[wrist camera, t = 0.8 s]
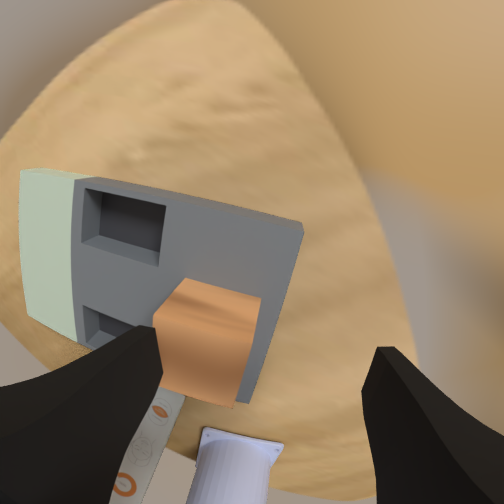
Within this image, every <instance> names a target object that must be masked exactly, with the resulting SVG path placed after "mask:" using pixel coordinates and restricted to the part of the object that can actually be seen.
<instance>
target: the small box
mask: <svg viewBox="0 0 504 504" xmlns="http://www.w3.org/2000/svg"><path fill="white" fill-rule="evenodd" d="M184 400H185V396H184V395H183V394H180V393H177V392H174V391H171V390H168V389H165V388H162V387H158V390H157V392H156V395H155V397H154V399H153V401H152V403H151V405H150V407H149V409H148V411H147V412H146V414H145V416H144V418H143V420H142V422H141V424H140V425H139V427H138V429H137V431H136V433H135V435H134V437H133V438H132V440H131V442H130V444H129V446H128V448H127V451H126V453H125V455H124V458H123V461H122V464H121V466H120V469H119V472H118V475H117V478H116V481H115V484H114V488H113V491H112V494H111V498H110V502H109V504H141V503H142V501H143V498H144V495H145V493H146V491H147V488H148V486H149V484H150V481H151V479H152V476H153V474H154V471H155V469H156V467H157V464H158V462H159V459H160V457H161V455H162V453H163V450H164V448H165V446H166V443H167V441H168V439H169V436H170V434H171V432H172V429H173V427H174V424H175V422H176V420H177V417H178V415H179V412H180V410H181V408H182V405H183V403H184Z"/></svg>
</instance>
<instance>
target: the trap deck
mask: <svg viewBox="0 0 504 504" xmlns="http://www.w3.org/2000/svg"><path fill="white" fill-rule="evenodd" d="M303 235H304V229H303V226H302V223H301V222H297V221H293V220H289V219H286V218H282V217H278V216H274V215H270V214H266V213H262V212H258V211H254V210H250V209H246V208H242V207H238V206H233V205H229V204H225V203H221V202H216V201H212V200H208V199H203V198H199V197H194V196H190V195H185V194H181V193H176V192H172V191H167V190H162V189H157V188H152V187H148V186H143V185H138V184H133V183H127V182H122V181H117V180H112V179H106V178H101V177H95V176H90V175H84V174H78V173H72V172H66V171H60V170H54V169H48V168H34V169H25V170H21V173H20V188H19V244H20V259H21V270H22V279H23V287H24V294H25V301H26V307H27V312H28V315H29V316H30V317H32V318H34V319H35V320H37V321H39V322H40V323H42V324H44V325H46V326H47V327H49V328H51V329H53V330H55V331H56V332H58V333H60V334H62V335H64V336H66V337H68V338H69V339H71V340H73V341H75V342H77V343H79V344H81V345H83V346H85V347H87V348H90V349H92V350H96V349H97V348H99V347H101V346H103V345H104V344H106V343H108V342H110V341H111V340H113V339H115V338H116V337H118V336H120V335H122V334H123V333H125V332H127V331H129V330H130V329H132V328H134V327H136V326H138V325H143V326H148V327H153V315H154V313H155V312H156V311H157V310H158V309H159V308H160V306H161V305H162V304H163V303H164V302H165V300H166V299H167V298H168V297H169V296H170V295H171V294H172V292H173V291H174V290H175V289H176V288H177V287H178V285H179V284H180V283H181V282H182V281H183V280H184V279H185V278H188V279H192V280H195V281H199V282H202V283H206V284H210V285H213V286H217V287H221V288H224V289H228V290H232V291H236V292H239V293H243V294H247V295H251V296H255V297H259V298H261V303H260V308H259V313H258V318H257V323H256V328H255V333H254V338H253V343H252V347H251V350H250V353H249V357H248V360H247V364H246V367H245V370H244V373H243V377H242V380H241V383H240V387H239V390H238V393H237V396H236V399H235V401H238V402H243V403H247V404H249V402H250V400H251V397H252V394H253V391H254V388H255V386H256V383H257V380H258V377H259V374H260V371H261V369H262V366H263V363H264V360H265V357H266V354H267V351H268V348H269V345H270V342H271V339H272V336H273V333H274V330H275V327H276V324H277V321H278V318H279V314H280V311H281V308H282V305H283V302H284V299H285V295H286V292H287V289H288V286H289V282H290V279H291V276H292V272H293V269H294V266H295V262H296V259H297V256H298V252H299V249H300V245H301V242H302V238H303Z"/></svg>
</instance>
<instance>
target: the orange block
mask: <svg viewBox="0 0 504 504" xmlns="http://www.w3.org/2000/svg"><path fill="white" fill-rule="evenodd" d="M260 303H261V298H259V297H255V296H251V295H247V294H243V293H239V292H236V291H232V290H228V289H224V288H221V287H217V286H213V285H210V284H206V283H202V282H199V281H195V280H192V279H188V278H185V279H184V280H183V281H182V282H181V283H180V284H179V285H178V287H177V288H176V289H175V290H174V291H173V292H172V294H171V295H170V296H169V297H168V298H167V299H166V300H165V302H164V303H163V304H162V305H161V306H160V308H159V309H158V310H157V311H156V312H155V313H154V315H153V327H154V328H155V329H156V335H157V341H158V347H159V352H160V357H161V362H162V367H163V372H164V373H163V376H162V379H161V381H160V384H159V387H162V388H165V389H168V390H171V391H174V392H177V393H180V394H183V395H186V396H189V397H192V398H196V399H199V400H202V401H206V402H209V403H213V404H216V405H220V406H224V407H228V408H232V409H233V406H234V403H235V399H236V396H237V393H238V390H239V387H240V383H241V380H242V377H243V373H244V370H245V367H246V364H247V360H248V357H249V353H250V350H251V347H252V343H253V338H254V333H255V328H256V323H257V318H258V313H259V308H260Z"/></svg>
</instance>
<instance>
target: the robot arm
mask: <svg viewBox="0 0 504 504" xmlns="http://www.w3.org/2000/svg"><path fill="white" fill-rule="evenodd" d="M163 373H164V372H163V367H162V362H161V357H160V352H159V347H158V341H157V335H156V329H155V328H154V327H148V326H143V325H138V326H136V327H134V328H132V329H130V330H129V331H127V332H125V333H123V334H122V335H120V336H118V337H116V338H115V339H113V340H111V341H110V342H108V343H106V344H104V345H103V346H101V347H99V348H97V349H96V350H94V351H92V352H90V353H89V354H87V355H85V356H83V357H81V358H79V359H77V360H75V361H73V362H71V363H69V364H67V365H65V366H63V367H61V368H59V369H56V370H54V371H52V372H49V373H47V374H44V375H41V376H39V377H36V378H33V379H30V380H26V381H23V382H19V383H15V384H12V385H8V386H3V387H0V504H109V502H110V498H111V494H112V491H113V488H114V484H115V481H116V478H117V475H118V472H119V469H120V466H121V464H122V461H123V458H124V455H125V453H126V451H127V448H128V446H129V444H130V442H131V440H132V438H133V437H134V435H135V433H136V431H137V429H138V427H139V425H140V424H141V422H142V420H143V418H144V416H145V414H146V412H147V411H148V409H149V407H150V405H151V403H152V401H153V399H154V397H155V395H156V392H157V390H158V387H159V384H160V381H161V379H162V376H163ZM361 393H362V405H363V415H364V420H365V425H366V430H367V434H368V439H369V444H370V449H371V453H372V458H373V463H374V469H375V476H376V491H377V504H504V436H503V435H501V434H499V433H498V432H496V431H494V430H492V429H491V428H489V427H487V426H485V425H484V424H482V423H481V422H480V421H478V420H477V419H475V418H474V417H473V416H471V415H470V414H468V413H467V412H466V411H464V410H463V409H462V408H460V407H459V406H458V405H457V404H456V403H454V402H453V401H452V400H451V399H450V398H449V397H447V396H446V395H445V394H444V393H443V392H442V391H441V390H439V389H438V388H437V387H436V386H435V385H434V384H433V383H432V382H431V381H430V380H429V379H428V378H427V377H425V375H424V374H423V373H421V372H420V371H419V370H418V369H417V368H416V367H415V366H414V365H413V364H412V363H411V362H410V361H409V360H408V359H407V358H406V357H405V356H404V355H403V354H402V353H401V352H400V351H399V350H397V349H396V348H395V347H377V349H376V352H375V355H374V358H373V361H372V363H371V366H370V369H369V372H368V375H367V377H366V380H365V383H364V385H363V388H362V390H361ZM283 448H284V445H283V444H282V443H278V442H272V441H266V440H261V439H256V438H251V437H246V436H242V435H237V434H233V433H229V432H225V431H221V430H217V429H213V428H210V427H205V428H204V429H203V432H202V437H201V442H200V446H199V451H198V456H197V461H196V465H195V466H196V468H197V469H196V473H195V476H194V479H193V482H192V485H191V488H190V492H189V495H188V498H187V501H186V504H266V502H267V493H268V484H269V475H270V468H271V466H272V465H273V463H274V462H275V460H276V459H277V457H278V456H279V454H280V453H281V451H282V450H283Z"/></svg>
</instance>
